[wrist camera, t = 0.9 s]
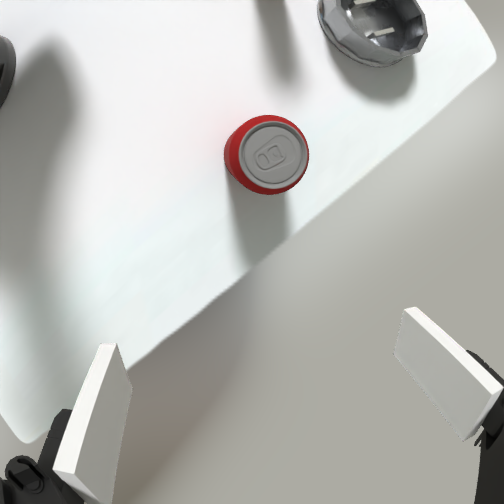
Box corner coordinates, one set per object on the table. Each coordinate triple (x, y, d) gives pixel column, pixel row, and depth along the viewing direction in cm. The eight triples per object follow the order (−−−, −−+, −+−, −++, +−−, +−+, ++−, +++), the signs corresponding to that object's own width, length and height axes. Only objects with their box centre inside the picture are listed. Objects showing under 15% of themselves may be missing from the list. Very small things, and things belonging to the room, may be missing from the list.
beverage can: (291, 165, 35) (329, 173, 23) (241, 193, 35) (256, 213, 24) (264, 115, 32) (291, 98, 21) (212, 143, 33) (213, 138, 21)
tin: (297, -8, 27) (309, -26, 22) (374, -22, 26) (392, -36, 21) (352, 79, 32) (372, 70, 27) (421, 54, 31) (444, 47, 26)
